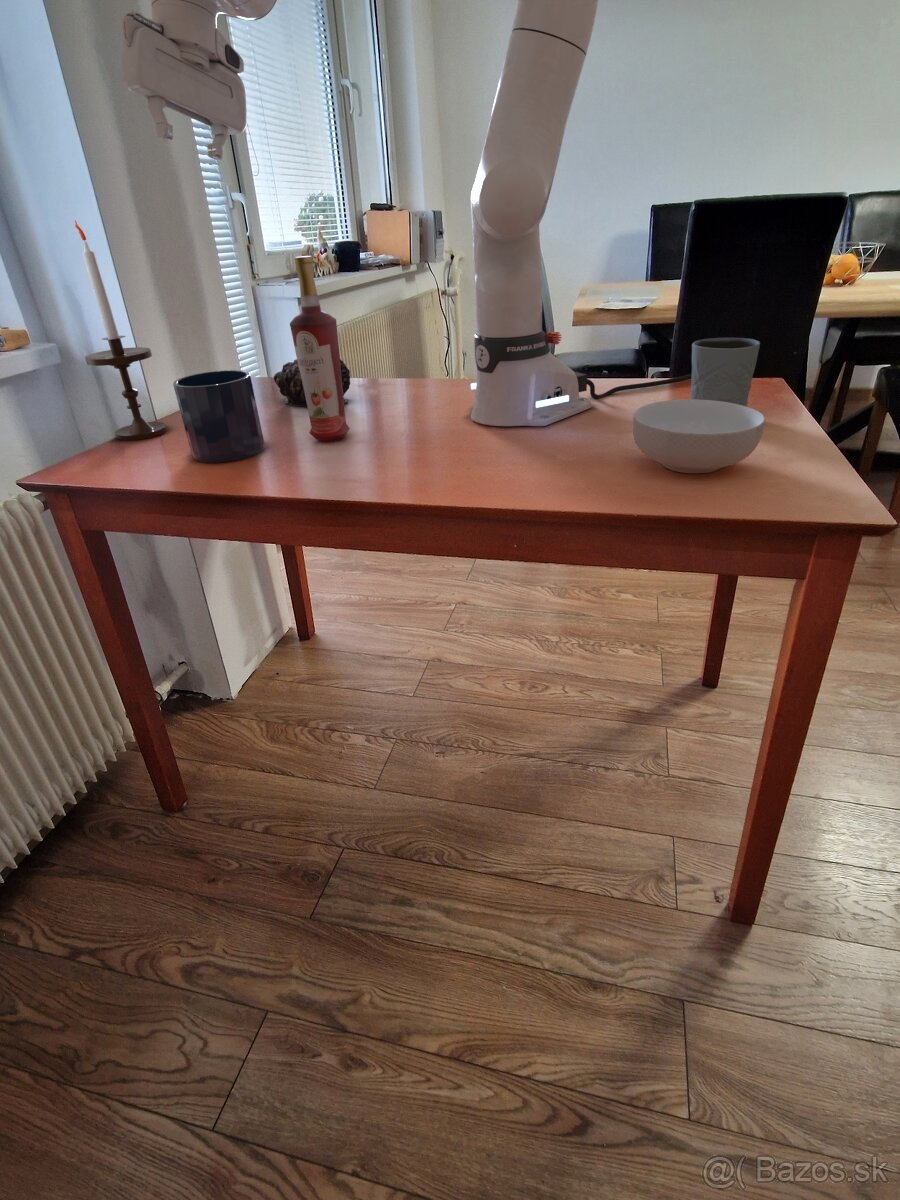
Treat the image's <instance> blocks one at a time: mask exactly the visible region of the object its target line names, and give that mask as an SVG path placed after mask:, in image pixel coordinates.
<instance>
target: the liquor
mask: <svg viewBox="0 0 900 1200" xmlns="http://www.w3.org/2000/svg"><path fill="white" fill-rule="evenodd" d="M294 264H295V271H296V273H297V277H298V280H299V293H300V307H301V313H300V312H299V314H297V315H296V316H294V317H293V318H292V320H291V321H290V322H289V327H290V331H291V336H292V341H293V346H294V351H295V356H296V359H297V361H298V365H299V369H300V374H301V378H302V382H303V387H304V392H305V397H306V402H307V406H306V407H307V412H308V416H309V421H310V422H309V423H310V430H309V435H310V436H312V437H313V438H314V439H315V440H317V441H318V442H319V443H333V442H338V441H341V440H343V439H344V438H345V436H346V435H347V434H348V433H349V431H350V430H351V428H350V426H349V425H348V424H347V417H346V409H345V403H344V399H345V398H344V399H343V397H344V396H343V389H342V379H341V366H340V359H341V355H340V345H339V336H338V335H339V334H338V324H337V319H336V318H335V317H334V316H333V315H331V314H330V313H327V312H325V311H324V310H323V311H322V309H321V304H320V300H319V295H318V290H317V286H316V281H315V269H314V267H315V266H314V261H313V256H312V255H303V256H302V255H301V256H294Z"/></svg>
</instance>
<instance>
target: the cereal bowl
mask: <svg viewBox="0 0 900 1200" xmlns="http://www.w3.org/2000/svg"><path fill="white" fill-rule="evenodd" d="M765 424H766V417H765V415H764V414H763V413H762V412H760V411H758V410H757V409H754V408H752V407H748V406H747V407H746V406H742V405H738V404H733V403H728V402H721V401H713V400H698V399H691V398H690V399H689V398H688V399H687V398H686V399H683V398H682V399H670V400H662V401H661V400H660V401H655V402H652V403H648V404H644V405H642V406H640V407H639V408H638V409H636V410H635V412H634V413H633V417H632V435H633V440H634V443H635V444H636V446H637V448H638V449H639V450H640V451H641V453H642V454H644V456H646V457H647V458H649V459H651V460H652V461H654V462H657V463H659V464H661V465H662V466H663V467H664V468H666V469H667V470H670V471H673V472H676V473H677V472H678V473H681V474H682V473H684V474H706V473H707V474H708V473H712V472H715V471H718V470H719V469H722V468H726V467H730V466H732V465H735V464H738V463H740V462H741V461H743V460H745V459H746V458H748V457H749V456H750V455H751V454H752V453H753V452H754V451H755V450H756V448H757V447H758V445H759V443H760V442H761V439H762V436H763V434H764V429H765Z"/></svg>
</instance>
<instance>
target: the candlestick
mask: <svg viewBox="0 0 900 1200" xmlns="http://www.w3.org/2000/svg"><path fill="white" fill-rule="evenodd" d="M74 223H75V225H74V226H75V228H76V230H77V231H78V234H79V235H80V239H81V240H82V241H83V242H82V244H83V251H82V252H81V255H82V258H83V261H84V264H85V268H86V270H87V274H88V277H89V278H88V279H89V281H90V284H91V287H92V291H93V294H94V297H95V300H96V303H97V309H98V311H99V313H100V317H101V320H102V324H103V327H104V331H105V332H106V337H102V338H101V340H102V341H107V342H108V346H109V349H106V350H102V351H98V352H94V353H90V354H88V355H86V356H84V359H85V363H86V364H87V365H88V366H93V367H94V366H95V367H96V366H97V367H100V366H101V367H102V366H103V367H105V366H109V367H113V369H115V370H116V369H117V370H118V372H119V375H120V377H121V382H122V384H123V387H124V389H123V390H122V391H121V395H122V397H124V399H126V400H127V403H128V405H127V406H126V409H128V410H130V411H131V414H132V417H133V419H132V421H131V424H129V425H125V426H123V427H120V428H118V429H117V430H115V431H114V435H115V438H116V439H117V440H118V441H128V442H129V441H130V442H131V441H140V440H141V441H142V440H146V439H151V438H155V437H158V436H161V435H163V434H165V433H166V432H167V431H168V427H167V423H166V422H163V421H146V420H145V419H144V418H143V417H142V415H141V414H142V413H141V411H140V408H142V404H141V403H138V399H137V398H138V397H139V391H138V389H137V388H134V387H133V384H132V381H131V378H130V374H129V371H128V368H130V367H131V364H134V362H136V363H137V362H140V361H143V360H147V359H150V358H152V357H153V353H152V350H151V348H149V347H143V346H142V347H141V346H140V347H139V346H137V347H135V346H134V347H124V346H123V343H122V339H124V338H126V337H127V336H126V335H119V332H118V331H119V330H118V328H117V324H116V321H115V317H114V314H113V311H112V308H111V304H110V300H109V298H108V294H107V291H106V290H107V289H106V288H105V283H104V280H103V277H102V273H101V270H100V267H99V264H98V261H97V257H96V254H95V251H93V250H91V248H90V246H89V244H88V241H87V236H86V233H85V232H84V229H82V227H81V226H80V225H79V224H78V222H77V220H76V219H75V220H74Z"/></svg>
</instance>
